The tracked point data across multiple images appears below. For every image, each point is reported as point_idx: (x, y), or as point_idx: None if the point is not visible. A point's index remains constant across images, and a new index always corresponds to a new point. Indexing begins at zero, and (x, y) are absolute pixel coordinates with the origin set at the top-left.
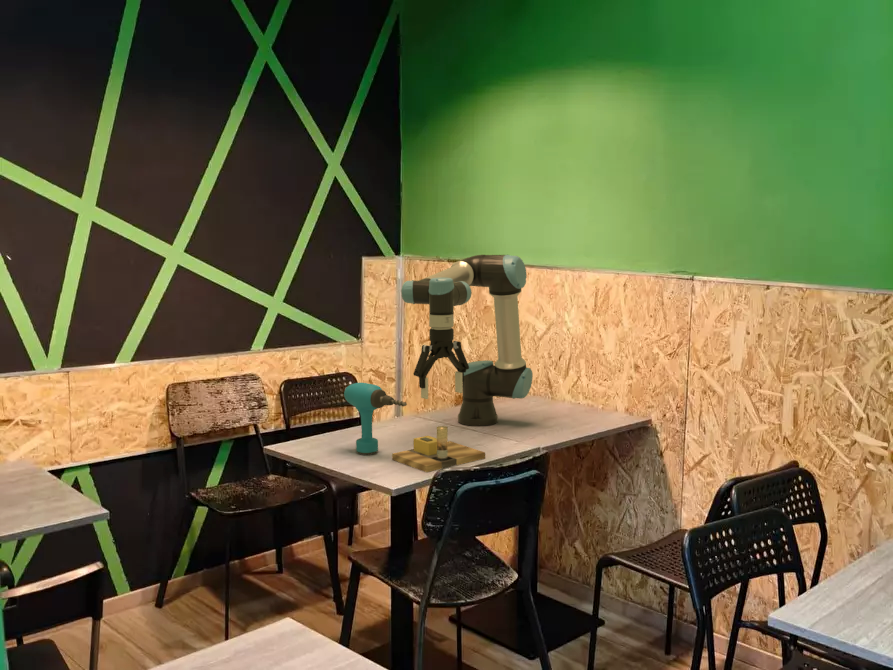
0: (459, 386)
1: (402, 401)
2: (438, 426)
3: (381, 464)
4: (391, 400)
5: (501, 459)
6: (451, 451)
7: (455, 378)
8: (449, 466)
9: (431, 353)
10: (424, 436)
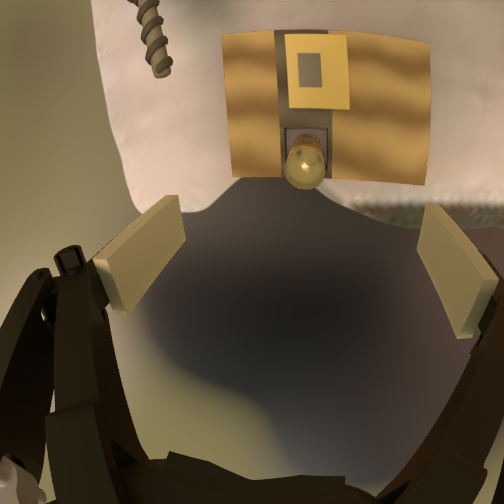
0: (429, 262)
1: (156, 48)
2: (303, 150)
3: (183, 61)
4: (135, 2)
5: None
6: (368, 116)
7: (458, 251)
8: None
9: (70, 476)
10: (329, 35)
